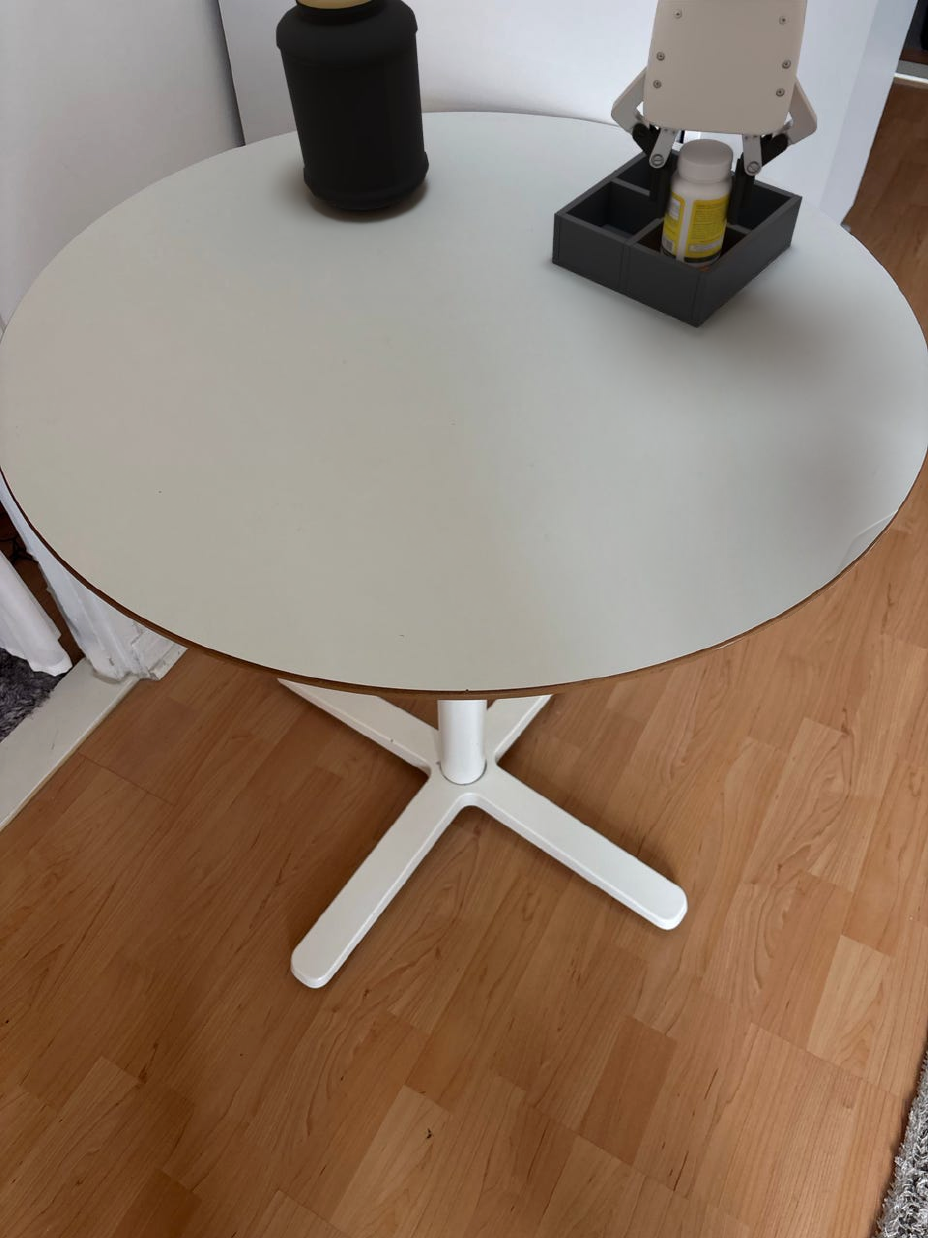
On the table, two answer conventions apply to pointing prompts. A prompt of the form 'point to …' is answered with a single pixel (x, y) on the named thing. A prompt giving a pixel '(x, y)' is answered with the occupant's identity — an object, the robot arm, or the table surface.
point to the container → (355, 99)
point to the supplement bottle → (698, 203)
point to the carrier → (631, 242)
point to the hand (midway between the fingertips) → (696, 209)
